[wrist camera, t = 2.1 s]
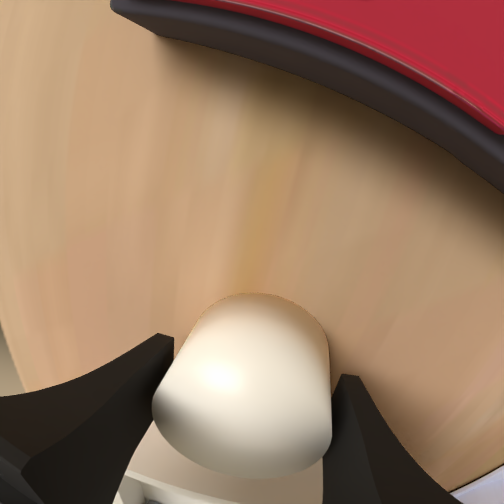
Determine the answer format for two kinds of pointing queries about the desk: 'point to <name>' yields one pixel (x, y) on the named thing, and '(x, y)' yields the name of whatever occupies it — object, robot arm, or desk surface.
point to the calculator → (369, 57)
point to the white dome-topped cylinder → (249, 389)
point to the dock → (206, 480)
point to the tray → (152, 502)
